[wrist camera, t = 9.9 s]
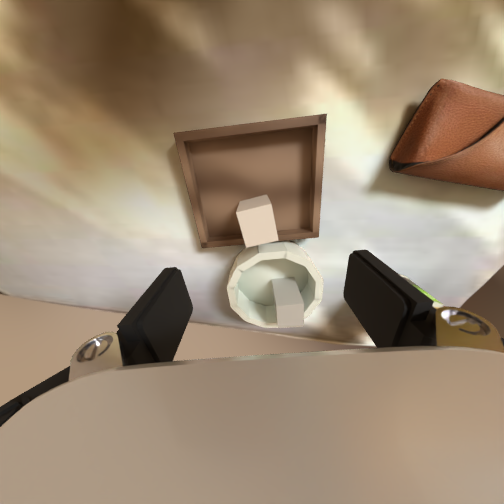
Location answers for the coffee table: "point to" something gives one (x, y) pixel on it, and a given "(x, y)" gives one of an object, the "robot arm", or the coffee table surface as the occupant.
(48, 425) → the robot arm
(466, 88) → the sunglasses case
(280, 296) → the light grey block
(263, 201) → the beige brick
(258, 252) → the celadon bowl
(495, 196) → the coffee table surface
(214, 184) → the walnut tray
